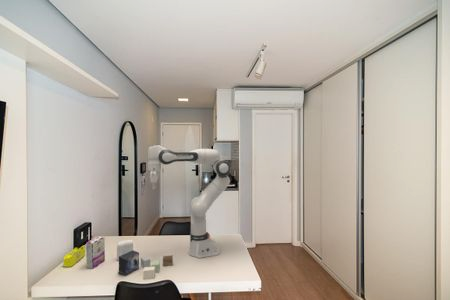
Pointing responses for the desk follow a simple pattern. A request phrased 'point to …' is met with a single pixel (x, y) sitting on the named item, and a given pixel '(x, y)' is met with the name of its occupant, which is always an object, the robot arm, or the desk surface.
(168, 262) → the walnut brick
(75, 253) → the yellow toy chassis
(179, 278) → the desk surface
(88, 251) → the candy bar box
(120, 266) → the small box
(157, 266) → the sage brick
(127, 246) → the photo printer
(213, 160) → the robot arm
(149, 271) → the cream brick
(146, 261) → the grey brick
